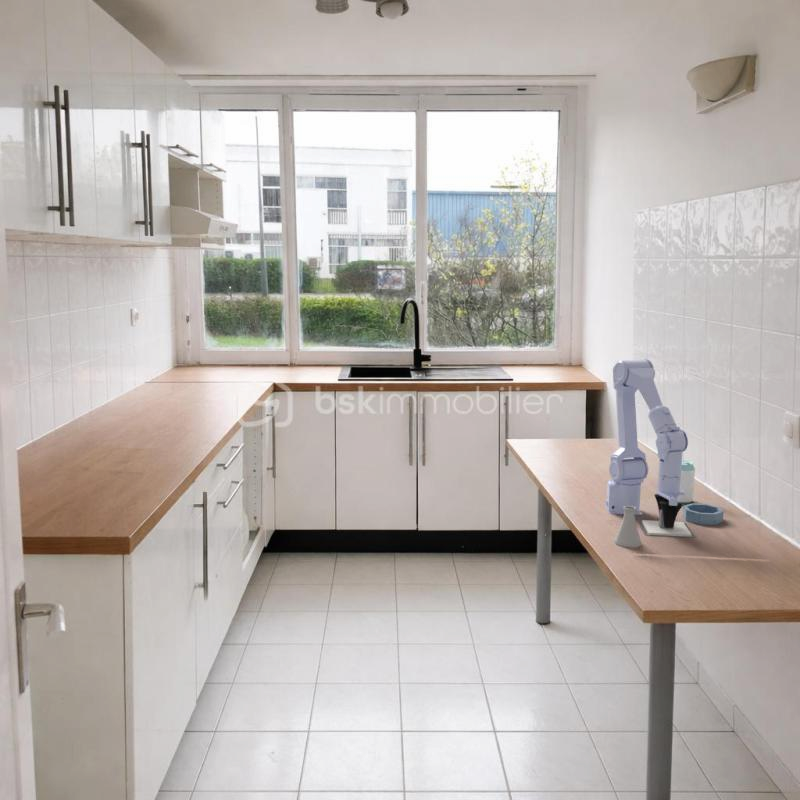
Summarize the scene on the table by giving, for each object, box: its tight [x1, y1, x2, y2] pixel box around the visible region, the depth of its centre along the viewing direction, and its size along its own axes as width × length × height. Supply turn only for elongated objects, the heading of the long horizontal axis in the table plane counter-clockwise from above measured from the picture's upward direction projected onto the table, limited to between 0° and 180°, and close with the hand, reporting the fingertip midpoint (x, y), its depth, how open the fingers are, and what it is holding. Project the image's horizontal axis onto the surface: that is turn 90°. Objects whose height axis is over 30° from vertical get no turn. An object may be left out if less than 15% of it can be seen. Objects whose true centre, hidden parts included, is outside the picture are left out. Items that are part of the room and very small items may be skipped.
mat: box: [637, 520, 697, 539], centre depth 240 cm, size 13×13×1 cm
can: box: [678, 459, 696, 505], centre depth 269 cm, size 7×7×12 cm
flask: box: [613, 506, 643, 548], centre depth 228 cm, size 7×7×10 cm
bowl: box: [682, 502, 724, 526], centre depth 250 cm, size 10×10×4 cm
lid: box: [641, 510, 692, 537], centre depth 240 cm, size 11×11×5 cm
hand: (666, 524), depth 240 cm, fingers open, 5 cm apart
